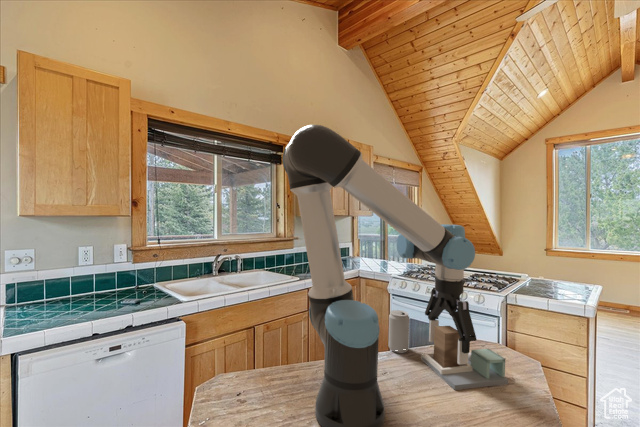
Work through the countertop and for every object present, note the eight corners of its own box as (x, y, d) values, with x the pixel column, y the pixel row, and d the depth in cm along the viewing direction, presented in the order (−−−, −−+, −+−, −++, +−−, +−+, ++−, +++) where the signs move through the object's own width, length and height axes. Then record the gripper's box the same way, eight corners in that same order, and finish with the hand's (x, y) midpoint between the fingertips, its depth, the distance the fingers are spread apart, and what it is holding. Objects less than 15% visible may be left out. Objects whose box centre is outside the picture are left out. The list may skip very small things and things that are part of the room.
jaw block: (443, 369, 84) (445, 333, 84) (433, 360, 89) (434, 326, 89) (459, 367, 85) (460, 332, 85) (448, 358, 90) (449, 325, 90)
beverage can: (409, 355, 94) (410, 317, 94) (388, 352, 96) (389, 315, 96) (407, 346, 101) (408, 310, 101) (388, 344, 102) (388, 308, 102)
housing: (486, 378, 80) (487, 360, 79) (470, 366, 85) (471, 349, 85) (504, 376, 81) (505, 358, 81) (488, 365, 87) (488, 348, 87)
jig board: (453, 390, 76) (453, 377, 76) (420, 359, 92) (420, 348, 92) (508, 383, 80) (508, 371, 80) (467, 355, 95) (467, 344, 95)
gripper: (493, 289, 75) (491, 373, 76) (435, 269, 100) (433, 333, 100) (467, 290, 74) (464, 376, 74) (415, 269, 98) (413, 334, 99)
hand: (447, 351), depth 87 cm, fingers open, 13 cm apart
